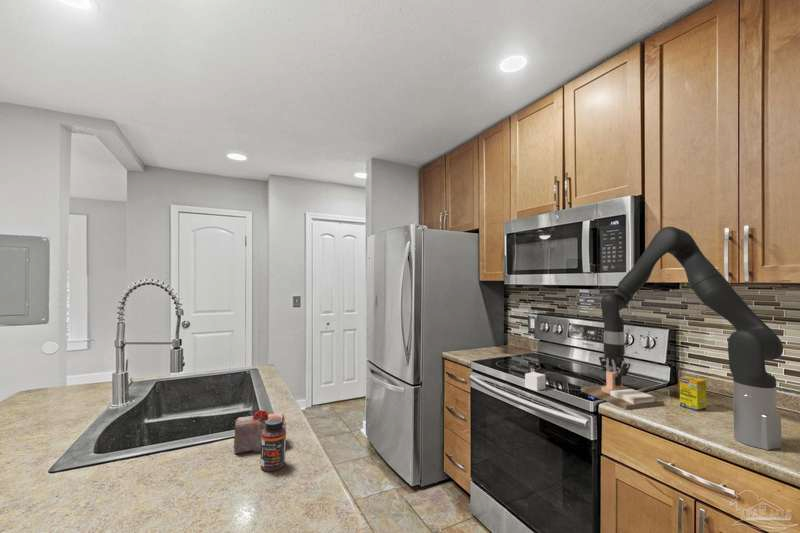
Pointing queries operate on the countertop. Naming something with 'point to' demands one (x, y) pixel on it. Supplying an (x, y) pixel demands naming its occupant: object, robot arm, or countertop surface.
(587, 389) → the board
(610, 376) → the stub
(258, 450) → the pink box with bow
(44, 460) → the countertop surface
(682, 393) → the supplement box
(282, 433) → the supplement bottle
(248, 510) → the countertop surface
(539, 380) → the white cube
